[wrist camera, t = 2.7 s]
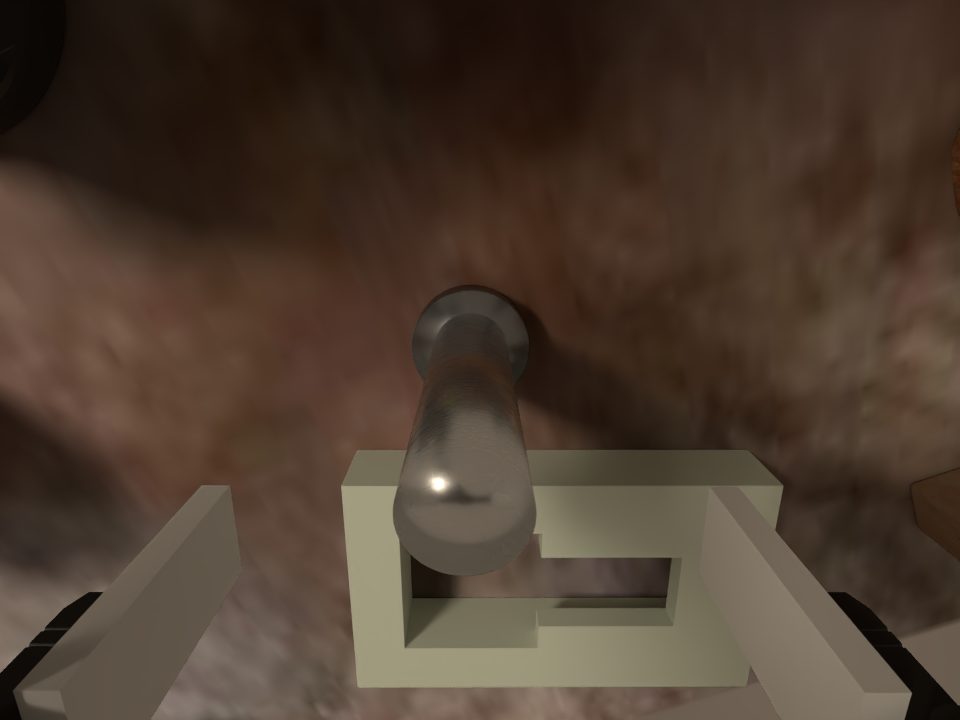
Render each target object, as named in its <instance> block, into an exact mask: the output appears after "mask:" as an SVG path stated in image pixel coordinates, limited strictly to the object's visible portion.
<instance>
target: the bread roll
mask: <svg viewBox="0 0 960 720" xmlns="http://www.w3.org/2000/svg"><path fill="white" fill-rule="evenodd" d="M952 161H953V164H952V172H953V175H954V177H953V186H954V192H955V202H956V207H957V210H958V213H959V215H960V129H959V131H958V134H957V137H956V140H955V142H954V145H953V148H952Z"/></svg>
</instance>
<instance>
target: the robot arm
mask: <svg viewBox="0 0 960 720" xmlns="http://www.w3.org/2000/svg"><path fill="white" fill-rule="evenodd" d="M64 18H65V15H64V0H0V133H2V132H4V131H6V130H8V129H9V128H11V127H12V126H14V125H15V124H16V123H18V122H19V121H20V120H21V119H23V118H24V117H25V116H26V115H27V114H28V113H29V112H30V111H31V110H32V109H33V108H34V106H35V105H36V104H37V103H38V101H39V100H40V98H41V97H42V96H43V94H44V92H45V91H46V89H47V87H48V86H49V83H50V81H51V79H52V77H53V75H54V72H55V69H56V67H57V64H58V60H59V56H60V52H61V47H62V42H63V34H64ZM241 572H242V567H241V560H240V553H239V546H238V539H237V532H236V525H235V518H234V511H233V504H232V497H231V490H230V486H229V485H202V486H201V487H200V488H199V489H198V490H197V491H196V492H195V493H194V495H193V496H192V497H191V498H190V499H189V500H188V501H187V502H186V503H185V504H184V505H183V507H182V508H181V509H180V510H179V511H178V512H177V513H176V514H175V515H174V516H173V517H172V518H171V520H170V521H169V522H168V523H167V524H166V525H165V526H164V527H163V528H162V529H161V530H160V531H159V533H158V534H157V535H156V536H155V537H154V538H153V539H152V540H151V541H150V542H149V543H148V545H147V546H146V547H145V548H144V549H143V550H142V551H141V552H140V553H139V554H138V555H137V556H136V558H135V559H134V560H133V561H132V562H131V563H130V564H129V565H128V566H127V567H126V568H125V569H124V571H123V572H122V573H121V574H120V575H119V576H118V577H117V578H116V579H115V580H114V581H113V583H112V584H111V585H110V586H109V587H108V588H107V589H106V590H105V591H104V592H89V593H87V594H85V595H84V596H82V597H81V598H79V599H78V600H76V601H75V602H73V603H72V604H70V605H68V606H67V607H65V608H64V609H63V610H62V611H61V612H60V613H59V614H58V615H57V616H56V617H55V618H54V619H53V620H52V621H51V622H50V623H49V624H48V625H47V626H46V627H45V630H44V631H41V632H40V633H39V634H38V635H37V636H36V637H35V638H34V639H33V640H32V641H31V642H30V645H29V647H26V648H25V649H24V650H23V651H22V652H21V653H20V654H19V655H18V656H17V657H16V658H15V659H14V660H13V661H12V662H11V663H10V664H9V665H8V666H7V667H6V668H5V669H4V670H3V671H2V672H1V673H0V720H151V718H152V716H153V715H154V713H155V712H156V710H157V708H158V707H159V705H160V703H161V702H162V700H163V699H164V697H165V695H166V694H167V692H168V690H169V689H170V687H171V686H172V684H173V682H174V681H175V679H176V677H177V676H178V674H179V673H180V671H181V669H182V668H183V666H184V664H185V663H186V661H187V660H188V658H189V656H190V655H191V653H192V651H193V650H194V648H195V647H196V645H197V643H198V642H199V640H200V638H201V637H202V635H203V634H204V632H205V630H206V629H207V627H208V625H209V624H210V622H211V621H212V619H213V617H214V616H215V614H216V612H217V611H218V609H219V608H220V606H221V604H222V603H223V601H224V599H225V598H226V596H227V595H228V593H229V591H230V590H231V588H232V586H233V585H234V583H235V582H236V580H237V578H238V577H239V575H240V573H241ZM698 572H699V574H700V576H701V578H702V579H703V581H704V583H705V585H706V587H707V588H708V590H709V592H710V594H711V596H712V597H713V599H714V601H715V603H716V604H717V606H718V608H719V610H720V612H721V613H722V615H723V617H724V619H725V621H726V622H727V624H728V626H729V628H730V630H731V631H732V633H733V635H734V637H735V639H736V640H737V642H738V644H739V646H740V648H741V649H742V651H743V653H744V655H745V656H746V658H747V660H748V662H749V664H750V665H751V667H752V669H753V671H754V673H755V674H756V676H757V678H758V680H759V682H760V683H761V685H762V687H763V689H764V690H765V692H766V694H767V696H768V698H769V700H770V701H771V703H772V705H773V707H774V708H775V710H776V712H777V714H778V716H779V717H780V719H781V720H960V706H958V705H957V704H956V703H955V702H954V701H953V699H952V698H951V697H950V696H949V695H948V694H947V693H946V692H945V691H944V689H943V688H942V687H941V686H940V685H939V684H938V683H937V682H936V681H935V680H934V679H933V677H931V675H930V674H929V673H928V672H927V671H926V670H925V669H924V668H923V666H922V665H921V664H920V663H919V662H918V661H917V660H916V659H915V658H914V657H913V656H912V654H911V653H910V652H909V651H908V650H907V649H906V648H903V647H902V644H901V642H900V641H899V640H898V639H897V638H896V637H895V636H894V635H893V634H892V632H888V630H887V627H886V626H885V625H884V624H883V623H882V621H881V620H880V619H879V618H878V617H877V616H876V615H875V614H874V613H873V612H872V611H871V609H869V608H868V607H866V606H865V605H864V604H862V603H861V602H859V601H858V600H856V599H855V598H853V597H852V596H850V595H849V594H847V593H846V592H826V590H825V589H824V588H823V587H822V586H821V585H820V583H819V582H818V581H817V580H816V579H815V577H814V576H813V575H812V574H811V573H810V572H809V570H808V569H807V568H806V567H805V566H804V564H803V563H802V562H801V561H800V560H799V558H798V557H797V556H796V555H795V554H794V553H793V551H792V550H791V549H790V548H789V547H788V545H787V544H786V543H785V542H784V541H783V540H782V538H781V537H780V536H779V535H778V534H777V532H776V531H775V530H774V529H773V528H772V526H771V525H770V524H769V523H768V522H767V521H766V519H765V518H764V517H763V516H762V515H761V513H760V512H759V511H758V510H757V509H756V508H755V506H754V505H753V504H752V503H751V502H750V500H749V499H748V498H747V497H746V496H745V494H744V493H743V492H742V491H741V490H740V489H739V487H710V489H709V496H708V503H707V511H706V518H705V526H704V533H703V541H702V548H701V555H700V563H699V570H698Z"/></svg>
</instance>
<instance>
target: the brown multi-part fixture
mask: <svg viewBox="0 0 960 720" xmlns="http://www.w3.org/2000/svg"><path fill="white" fill-rule="evenodd" d="M910 489H911V495H912V500H913V505H914V511H915V516H916V521H917V525H918V527H919V528H920V530H922V531H923V532H924V533H925V534H927V535H928V536H929V537H930V538H932V539H933V540H934V541H935V542H937V543H938V544H939V545H940V546H942V547H943V548H944V549H945V550H947V551H948V552H949V553H950V554H952V555H953V556H954V557H955V558H957V559H958V560H959V561H960V468H958V469H955V470H952V471H948V472H945V473H942V474H939V475H936V476H933V477H930V478H927V479H924V480H921V481H918V482H915V483H913V484H911V486H910Z"/></svg>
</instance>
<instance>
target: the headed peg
mask: <svg viewBox="0 0 960 720" xmlns="http://www.w3.org/2000/svg"><path fill="white" fill-rule="evenodd" d="M412 353H413V359H414V363H415V366H416V368H417V371H418V372H419V374H420V376H421V377H422V379H423V380H424V385H423V389H422V393H421V397H420V401H419V405H418V409H417V412H416V416H415V420H414V424H413V428H412V432H411V436H410V440H409V444H408V448H407V451H406V455H405V459H404V463H403V467H402V471H401V475H400V479H399V483H398V487H397V491H396V494H395V498H394V504H393V523H394V527H395V530H396V533H397V535H398V538H399V540H400V541H401V543H402V545H403V546H404V547H405V549H406V550H407V551H408V552H409V553H410V554H411V555H412V556H413V557H414V558H415V559H416V560H418V561H419V562H420V563H422V564H423V565H425V566H427V567H429V568H431V569H433V570H436V571H438V572H442V573H445V574H450V575H456V576H474V575H480V574H485V573H488V572H492V571H494V570H497V569H499V568H501V567H503V566H505V565H506V564H508V563H509V562H511V561H512V560H513V559H515V558H516V557H517V556H518V555H519V554H520V553H521V552H522V551H523V549H524V548H525V547H526V546H527V544H528V542H529V541H530V539H531V537H532V534H533V532H534V528H535V525H536V517H537V512H536V503H535V497H534V492H533V486H532V480H531V475H530V469H529V464H528V458H527V453H526V447H525V442H524V436H523V430H522V425H521V419H520V414H519V408H518V403H517V397H516V392H515V386H514V384H515V383H516V382H517V381H518V379H519V378H520V377H521V375H522V373H523V371H524V369H525V367H526V364H527V360H528V356H529V339H528V334H527V331H526V328H525V325H524V322H523V319H522V317H521V315H520V313H519V311H518V310H517V308H516V307H515V305H514V304H513V303H512V302H511V301H510V300H509V299H508V298H506V297H505V296H504V295H502V294H501V293H499V292H497V291H495V290H493V289H491V288H488V287H484V286H479V285H463V286H458V287H454V288H451V289H448V290H446V291H444V292H442V293H441V294H439V295H438V296H436V297H435V298H434V299H433V300H432V301H431V302H430V303H429V304H428V305H427V306H426V308H425V309H424V311H423V312H422V314H421V316H420V318H419V321H418V323H417V325H416V328H415V331H414V335H413V341H412Z"/></svg>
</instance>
